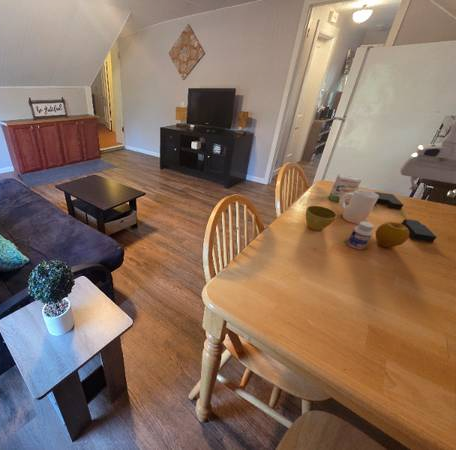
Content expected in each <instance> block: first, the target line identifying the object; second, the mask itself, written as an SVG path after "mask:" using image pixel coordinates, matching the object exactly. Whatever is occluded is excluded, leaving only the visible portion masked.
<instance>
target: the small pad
mask: <svg viewBox="0 0 456 450" xmlns="http://www.w3.org/2000/svg"><path fill="white" fill-rule="evenodd" d="M401 224H402V225H404V226H405V227H406V228H408V230H409V232H410V234H409V237H410V238H411V239H412V240H414V241H415V240H416V241H422V242H427V243H434V242H435V240H436V239H437V235H435V234H434V233H433V232H432V231H431V230H430V229H429V228H428V227H427V226H426V225H425V224H423V223H421V222H420V221H419V220H415V219H408V218H404V219H403V220H402V222H401Z"/></svg>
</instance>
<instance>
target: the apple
mask: <svg viewBox="0 0 456 450" xmlns="http://www.w3.org/2000/svg"><path fill="white" fill-rule="evenodd" d="M409 234H410V232H409V230H408V228H406V227H405V226H404V225H402V223H400V222H396V221H386V222H384V223H382V224H380V225H379V226H378V227H377V229H376V231H375V240H376V242H377V243H378V245H379V246H381V247H384V248H395V247H397V246H400V245H403V244H404V243H405V242H407V240H408V239H409V237H410V236H409Z"/></svg>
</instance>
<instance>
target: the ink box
mask: <svg viewBox="0 0 456 450" xmlns="http://www.w3.org/2000/svg"><path fill="white" fill-rule="evenodd" d="M361 182H362V179H361V178H360V177H359V176H356V175H355V176H354V175H347V174H340V173H339V174H338V175H337V176H336V178H335V181H334V183H333V185H332V188H331V191H330V193H329V194H328V198H329V201H333V202H339V200H340V198H341V197H342V196H343V195H345V194H347V193H354V191H355V190H358V188H359V187H360V184H361ZM350 199H351V197H349V198H347V199H346V200H345V204H349V202H350Z"/></svg>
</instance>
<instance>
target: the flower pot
mask: <svg viewBox="0 0 456 450" xmlns="http://www.w3.org/2000/svg"><path fill="white" fill-rule="evenodd" d="M306 207H307V208H306V210H305V211H306V212H305V219H306V220H305V221H306V225H307V227H308V228H309V229H311V230H313V231H322V230H324V229H325V228H327V227H329V226H330V225H331V224H332V223H333V222H334V220H335V219H336V218H337V216H338V215H337V213H336V212H335V211H334V210H333V209H330V208H328V207H325V206H320V205H309V206H306Z"/></svg>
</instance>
